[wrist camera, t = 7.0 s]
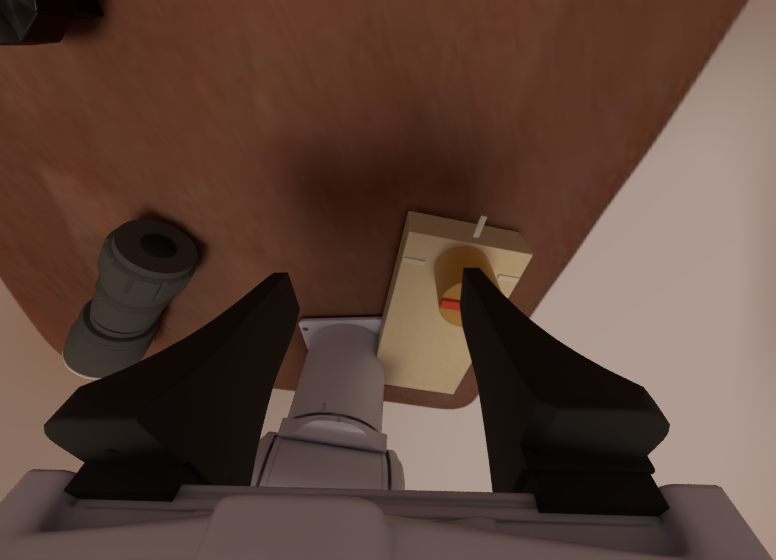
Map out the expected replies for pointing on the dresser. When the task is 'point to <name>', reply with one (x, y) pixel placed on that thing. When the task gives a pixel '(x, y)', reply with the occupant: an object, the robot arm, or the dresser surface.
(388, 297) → the dial box
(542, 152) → the dresser surface
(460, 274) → the lock knob
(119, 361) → the flashlight
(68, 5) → the box
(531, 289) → the dresser surface
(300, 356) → the dresser surface
